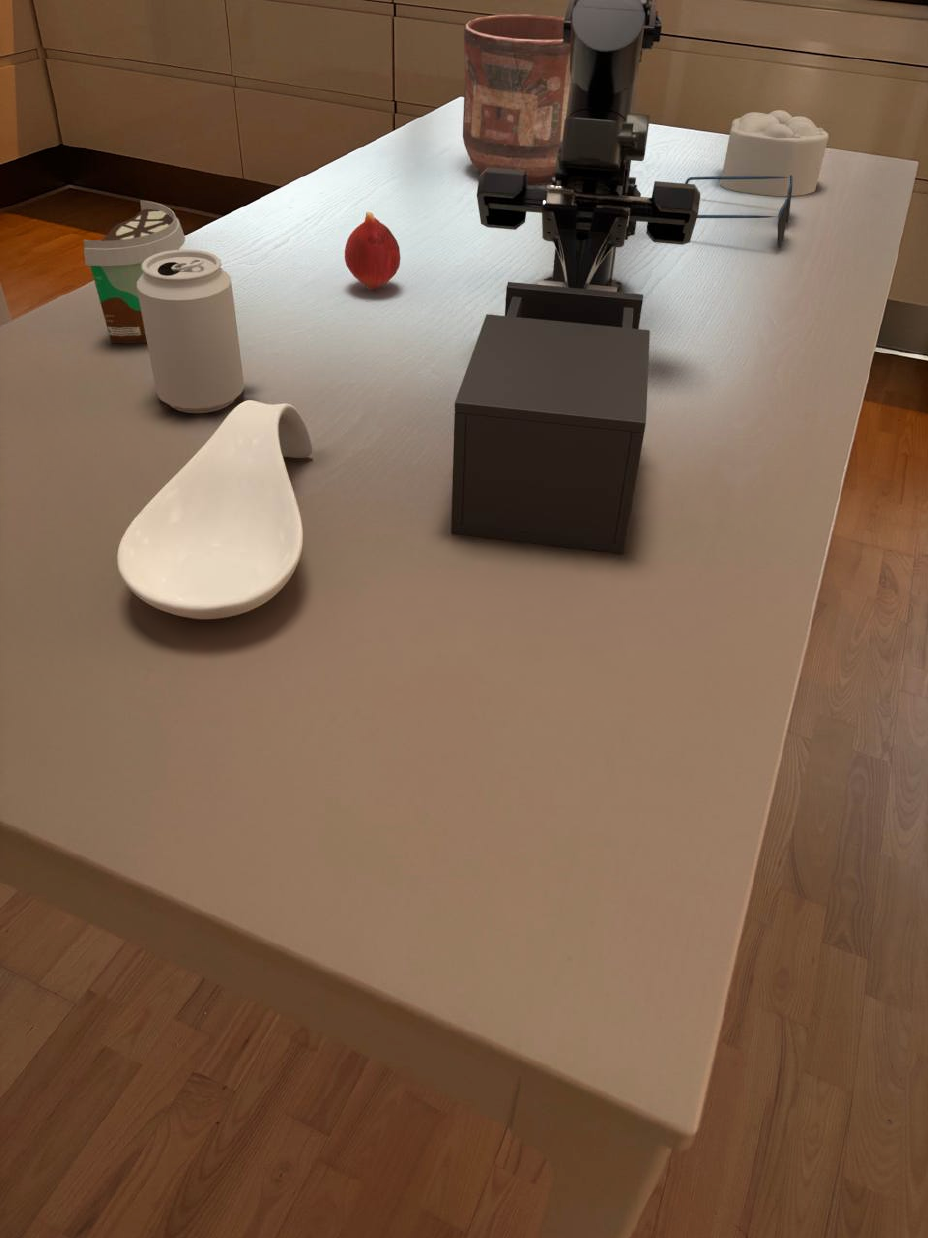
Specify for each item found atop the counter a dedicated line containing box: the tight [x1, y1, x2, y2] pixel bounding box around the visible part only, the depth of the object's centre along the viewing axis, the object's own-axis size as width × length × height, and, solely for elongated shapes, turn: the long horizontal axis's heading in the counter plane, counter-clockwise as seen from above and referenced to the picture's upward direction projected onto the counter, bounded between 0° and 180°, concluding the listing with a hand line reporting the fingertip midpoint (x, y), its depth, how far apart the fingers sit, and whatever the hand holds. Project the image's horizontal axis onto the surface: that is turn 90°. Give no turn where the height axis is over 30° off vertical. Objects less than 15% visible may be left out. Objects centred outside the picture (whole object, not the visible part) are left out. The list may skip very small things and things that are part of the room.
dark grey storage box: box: [450, 314, 651, 555], centre depth 74 cm, size 15×13×11 cm
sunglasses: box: [684, 175, 793, 249], centre depth 125 cm, size 17×15×5 cm
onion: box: [344, 211, 401, 291], centre depth 104 cm, size 6×6×8 cm
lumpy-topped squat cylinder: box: [719, 109, 829, 197], centre depth 137 cm, size 10×13×9 cm
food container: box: [83, 199, 186, 344], centre depth 94 cm, size 12×6×10 cm, turn 168°
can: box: [137, 248, 245, 414], centre depth 83 cm, size 8×8×12 cm
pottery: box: [462, 14, 571, 186], centre depth 134 cm, size 18×18×18 cm
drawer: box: [504, 279, 644, 329], centre depth 83 cm, size 18×11×9 cm, turn 171°
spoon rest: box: [116, 399, 313, 620], centre depth 69 cm, size 24×12×7 cm, turn 174°
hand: (574, 300), depth 85 cm, fingers closed, pressing on drawer
